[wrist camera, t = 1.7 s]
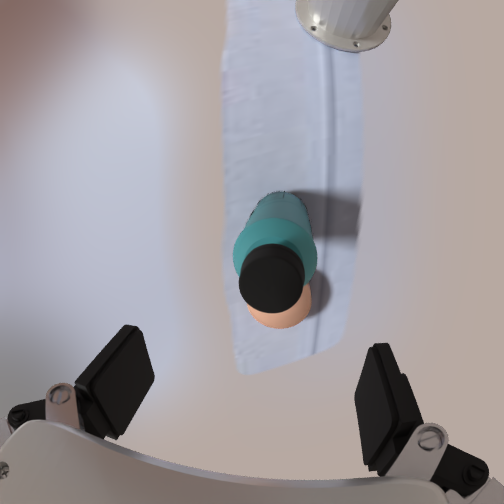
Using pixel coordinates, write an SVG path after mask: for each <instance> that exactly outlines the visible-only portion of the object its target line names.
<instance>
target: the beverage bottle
mask: <svg viewBox="0 0 504 504" xmlns="http://www.w3.org/2000/svg"><path fill="white" fill-rule="evenodd" d="M268 194H269V193H268ZM259 202H260V203H259ZM259 202H258V203H259V204H258V206H257V207H256V209H255V211H254V210H253V212H252V214H250V215H251V216H250V219H249V220H248V222H247V224H246V226H245V228H244V230H243V231H242V232H241V233H240V235H239V237H238V238H237V240H236V243H235V245H234V250H233V262H234V266H235V270H236V272H237V274H238V276H239V289H240V293H241V295H242V297H243V299H244V300H245V301H246V303H247V304H248V305H250V306H251V307H252V308H254V309H256V310H258V311H260V312H264V313H281V312H284V311H286V310H288V309H290V308H291V307H293V306H294V305H295V304H296V303H297V301H298V300H299V299H300V297H301V294H302V291H303V287H304V286H305V285H306V284H307V283H308V282H309V281H310V279H311V278H312V276H313V274H314V272H315V269H316V266H317V250H316V246H315V243H314V241H313V237H312V231H311V226H310V222H309V221H310V220H309V219H308V215H309V213H308V212H307V211H306V209H307V208H306V209H305V205H304V204H303V203H302V202H301V199H299V198H297V197H296V196H294V195H293V194H290V193H287V192H285V191H284V192H282V191H281V192H280V191H278V192H277V191H276V192H275V193H270V194H269V195H267V196H266V197H264V198H263V199H262V200H260V201H259ZM307 214H308V215H307ZM312 228H313V227H312Z"/></svg>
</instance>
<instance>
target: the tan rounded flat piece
mask: <svg viewBox="0 0 504 504" xmlns="http://www.w3.org/2000/svg"><path fill="white" fill-rule="evenodd" d="M247 306H248V309H249V311H250V313H251V315H252V316H253V317H254V318H255V319H256V320H257V321H258V322H260V323H261V324H263V325H265V326H267V327H271V328H278V329H283V328H289V327H292V326H295V325H297V324H298V323H300V322H301V321H302V320H303V319H304V318H305V317H306V316H307V314H308V313H309V311H310V308H311V290H310V284H309V282H308V283H307V284H306V285H305V286H304V287H303V291H302V294H301V297H300V299H299V300H298V301H297V303H296V304H295V305H294V306H293V307H291V308H290V309H288V310H286V311H284V312H281V313H264V312H260V311H258V310H256V309H254V308H252V307H251V306H250V305H248V304H247Z"/></svg>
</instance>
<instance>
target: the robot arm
mask: <svg viewBox="0 0 504 504" xmlns="http://www.w3.org/2000/svg"><path fill="white" fill-rule="evenodd" d="M397 1H398V0H296V14H297V18H298V20H299V22H300V24H301V25H302V27H303V28H304V29H305V30H306V31H307V32H308V33H309V34H310V35H311V36H312V37H314V38H315V39H316V40H318V41H319V42H321V43H323V44H325V45H327V46H330V47H332V48H335V49H339V50H343V51H350V52H362V51H367V50H371V49H373V48H375V47H377V46H379V45H380V44H382V43H383V42H384V40H385V39H386V38H387V37H388V35H389V33H390V29H391V19H390V15H389V13H390V11H391V10H392V8H393V7H394V6H395V4H396V3H397ZM312 30H315V31H312ZM354 45H356V46H357V47H355V46H354ZM154 377H155V375H154V372H153V369H152V365H151V362H150V358H149V355H148V351H147V348H146V344H145V340H144V336H143V333H142V331H141V330H139V328H138V327H137V326H132V325H124V326H123V327H122V328H121V329H120V330H119V332H118V333H117V334H116V335H115V336H114V337H113V338H112V339H111V340H110V342H109V343H108V344H107V345H106V346H105V347H104V348H103V350H102V351H101V352H100V353H99V354H98V355H97V356H96V357H95V359H94V360H93V361H92V362H91V363H90V364H89V366H88V367H87V368H86V369H85V371H83V373H82V374H81V375H80V376H79V377H78V378H77V380H76V381H75V384H76V385H75V386H74V387H73V386H72V385H70V384H68V383H59V384H55V385H54V386H52V387H51V388H50V389H49V390H48V391H47V393H46V399H43V400H39V401H34V402H30V403H25V404H20V405H17V406H15V407H14V408H12V409H11V410H10V412H9V414H8V419H6V417H3V418H1V419H0V504H504V486H503V485H502V484H501V483H500V482H498V481H497V480H496V479H495V478H494V477H493V478H492V479H490V478H489V477H488V476H489V469H488V466H487V464H486V463H485V462H484V461H483V460H481V459H479V458H477V457H475V456H473V455H470V454H468V453H466V452H464V451H462V450H460V449H457V448H456V447H454V446H451V445H449V444H448V434H447V432H446V431H445V429H444V428H443V427H441V426H440V425H438V424H435V423H425V424H424V422H423V419H422V417H421V413H420V410H419V408H418V405H417V402H416V399H415V397H414V394H413V391H412V389H411V386H410V383H409V381H408V378H407V376H406V375H405V374H404V373H403V374H401V373H400V370H399V367H398V365H397V362H396V360H395V357H394V355H393V352H392V350H391V348H390V345H389V344H388V343H375V344H374V345H373V347H370V348H369V349H368V353H367V356H366V359H365V363H364V366H363V370H362V373H361V376H360V379H359V382H358V385H357V388H356V391H355V406H356V412H357V418H358V425H359V431H360V438H361V446H362V453H363V461H364V465H368V469H369V471H377V474H378V475H379V476H380V477H369V478H354V479H340V480H280V479H265V478H254V477H245V476H238V475H230V474H224V473H218V472H213V471H207V470H202V469H197V468H193V467H188V466H184V465H180V464H176V463H172V462H168V461H165V460H161V459H157V458H154V457H151V456H148V455H145V454H141V453H139V452H136V451H132V450H130V449H127V448H124V447H121V446H119V445H116V444H114V443H111V442H108V441H106V440H104V438H105V436H107V437H110V438H112V439H115V440H117V439H118V437H119V436H120V435H123V434H124V432H125V431H126V429H127V427H128V425H129V424H130V422H131V420H132V418H133V417H134V415H135V413H136V411H137V409H138V408H139V406H140V404H141V402H142V401H143V399H144V397H145V396H146V394H147V392H148V391H149V389H150V387H151V385H152V384H153V382H154Z"/></svg>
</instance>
